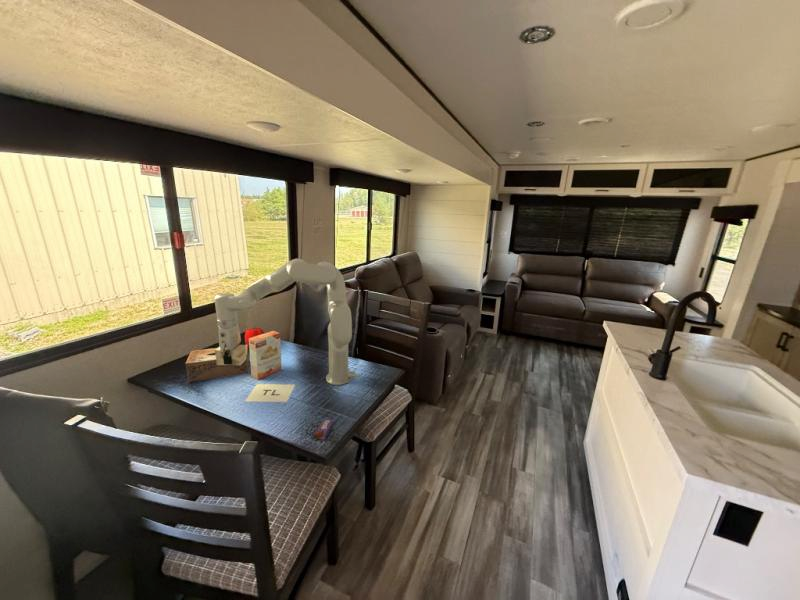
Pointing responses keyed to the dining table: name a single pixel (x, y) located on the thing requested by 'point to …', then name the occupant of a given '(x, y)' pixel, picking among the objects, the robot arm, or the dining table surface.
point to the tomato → (252, 334)
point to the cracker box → (265, 354)
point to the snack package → (323, 429)
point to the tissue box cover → (211, 366)
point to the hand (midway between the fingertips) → (231, 360)
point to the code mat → (270, 393)
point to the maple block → (232, 355)
